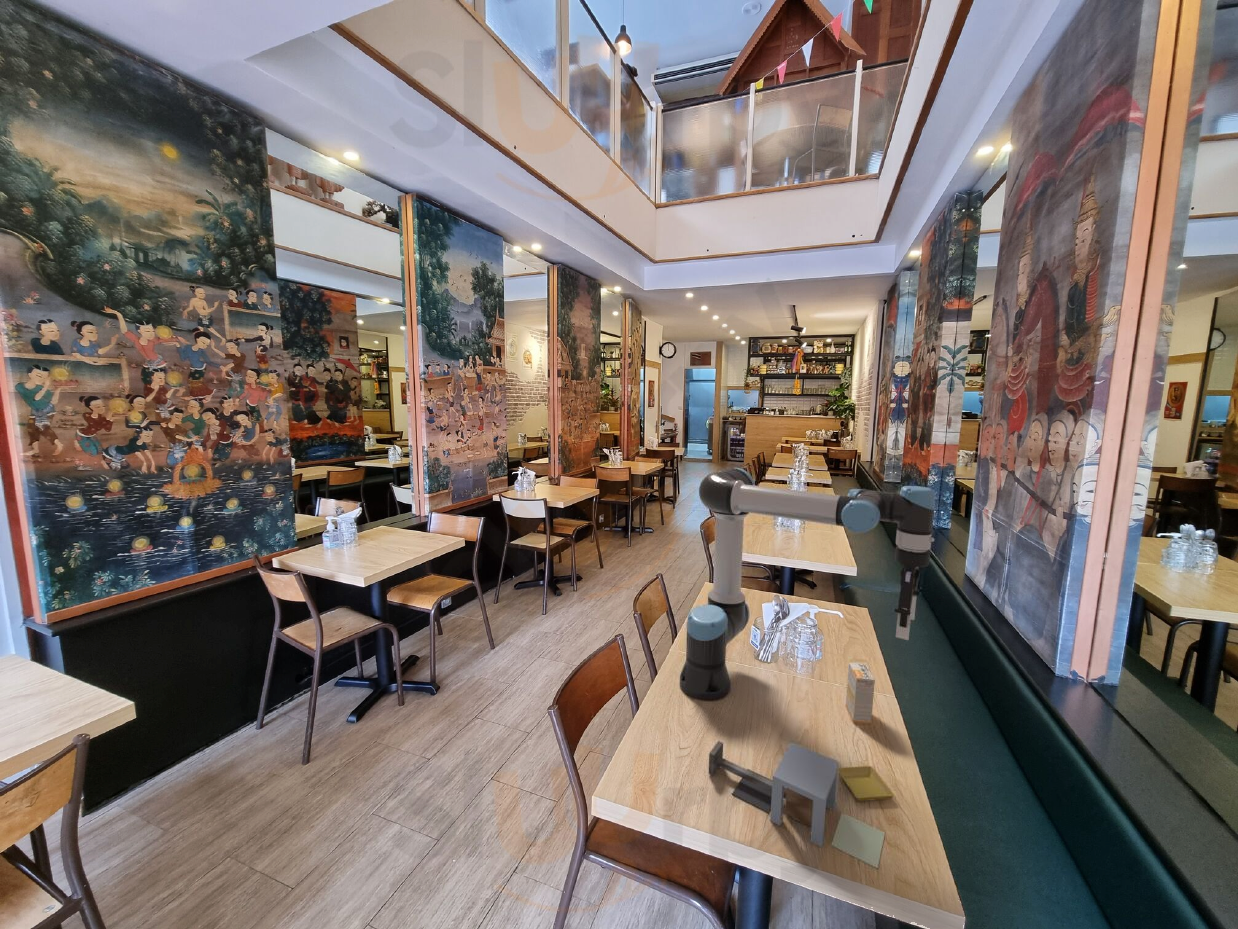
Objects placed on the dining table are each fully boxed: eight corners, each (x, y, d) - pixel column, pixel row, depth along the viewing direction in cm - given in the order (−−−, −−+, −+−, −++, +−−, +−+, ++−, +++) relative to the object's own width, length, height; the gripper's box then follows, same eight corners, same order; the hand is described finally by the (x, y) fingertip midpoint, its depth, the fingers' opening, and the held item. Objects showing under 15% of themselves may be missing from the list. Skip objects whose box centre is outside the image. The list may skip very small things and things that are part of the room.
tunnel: (770, 820, 100) (772, 775, 99) (788, 783, 110) (791, 742, 108) (821, 847, 94) (824, 800, 93) (835, 805, 104) (839, 762, 102)
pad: (831, 845, 94) (831, 844, 94) (841, 814, 102) (841, 813, 102) (877, 869, 90) (877, 867, 90) (884, 834, 97) (884, 833, 97)
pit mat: (732, 794, 106) (732, 793, 106) (747, 769, 114) (747, 768, 114) (768, 813, 102) (768, 812, 102) (781, 785, 109) (781, 784, 109)
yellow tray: (894, 804, 105) (895, 795, 105) (856, 806, 104) (856, 797, 104) (870, 773, 113) (871, 765, 113) (835, 775, 113) (835, 767, 112)
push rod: (707, 775, 111) (708, 751, 111) (718, 759, 116) (719, 736, 115) (814, 828, 98) (816, 802, 97) (822, 808, 102) (824, 783, 102)
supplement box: (872, 726, 129) (876, 680, 128) (852, 723, 130) (856, 678, 129) (863, 707, 137) (866, 663, 136) (844, 704, 138) (848, 661, 137)
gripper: (926, 564, 110) (917, 652, 113) (933, 539, 130) (926, 614, 133) (888, 557, 114) (881, 642, 117) (901, 534, 134) (895, 607, 137)
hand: (905, 628), depth 125 cm, fingers open, 13 cm apart
